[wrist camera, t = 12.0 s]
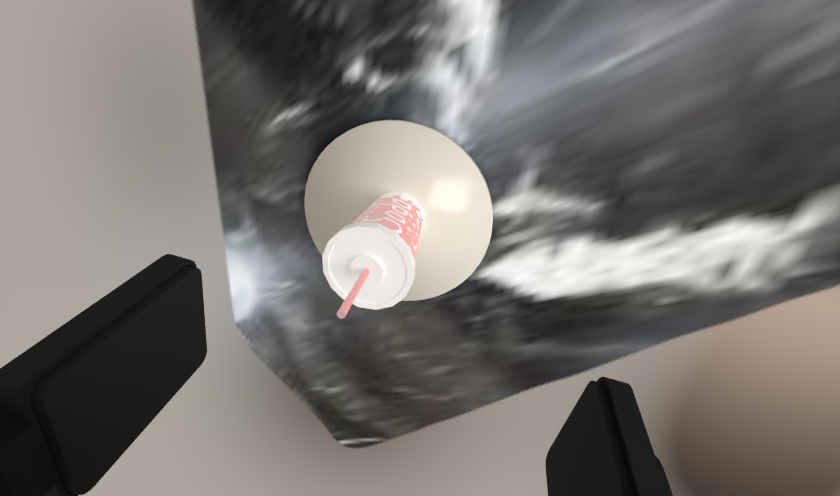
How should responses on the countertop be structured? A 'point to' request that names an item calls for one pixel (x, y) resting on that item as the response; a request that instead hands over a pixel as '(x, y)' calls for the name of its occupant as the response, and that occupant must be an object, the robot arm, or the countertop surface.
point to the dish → (415, 176)
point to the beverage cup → (376, 254)
